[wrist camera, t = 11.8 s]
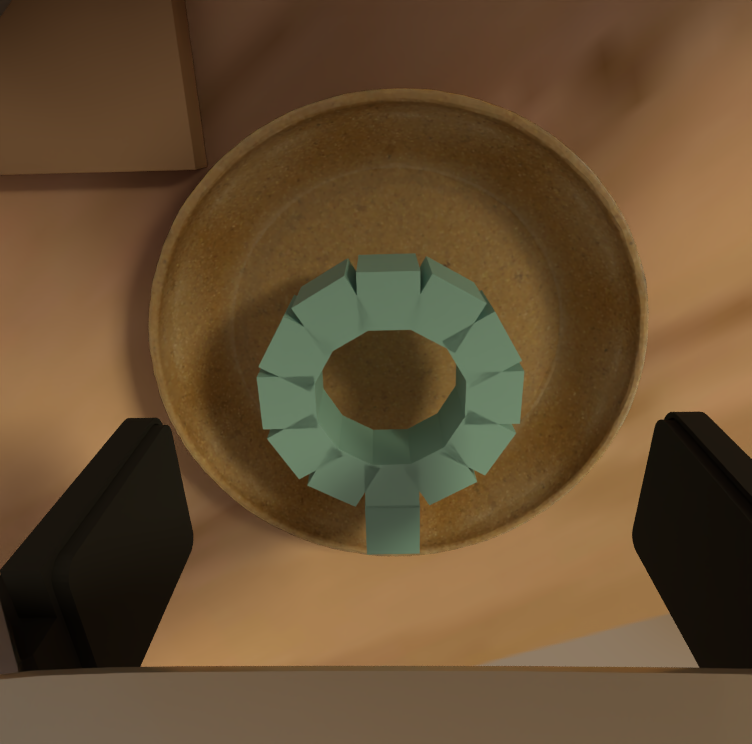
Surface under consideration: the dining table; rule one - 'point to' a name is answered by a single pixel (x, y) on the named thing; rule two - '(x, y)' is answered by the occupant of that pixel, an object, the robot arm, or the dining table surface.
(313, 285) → the ring
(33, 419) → the dining table surface
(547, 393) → the plant saucer
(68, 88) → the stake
